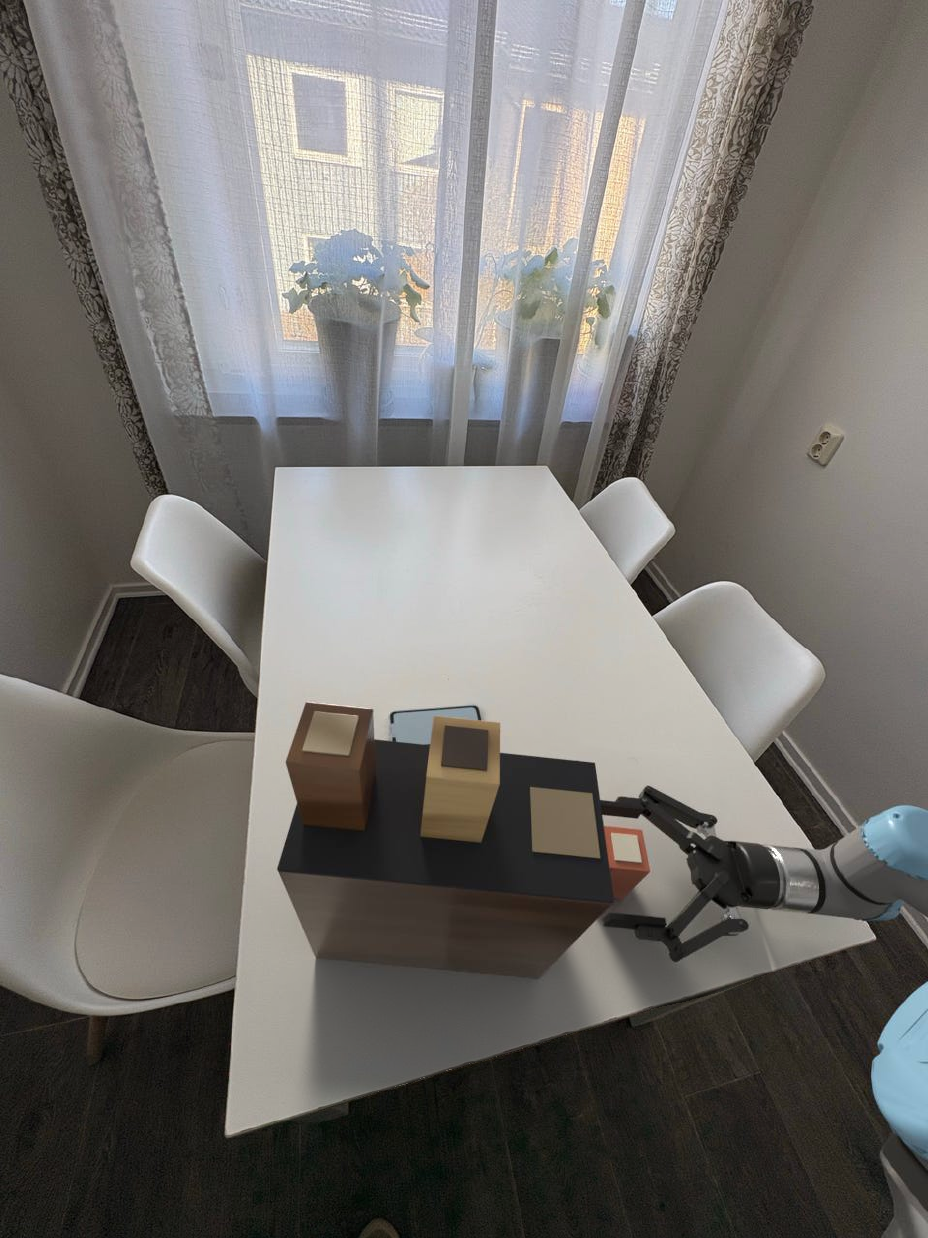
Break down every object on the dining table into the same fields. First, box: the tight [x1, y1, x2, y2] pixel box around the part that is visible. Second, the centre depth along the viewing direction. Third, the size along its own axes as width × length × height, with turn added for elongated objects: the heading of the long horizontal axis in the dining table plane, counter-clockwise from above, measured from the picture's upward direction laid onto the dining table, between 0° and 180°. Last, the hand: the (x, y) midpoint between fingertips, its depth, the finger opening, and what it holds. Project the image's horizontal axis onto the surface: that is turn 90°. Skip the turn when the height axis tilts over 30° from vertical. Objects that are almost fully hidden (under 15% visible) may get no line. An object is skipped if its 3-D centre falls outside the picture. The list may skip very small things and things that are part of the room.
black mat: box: [276, 738, 615, 905], centre depth 43 cm, size 12×26×1 cm, turn 87°
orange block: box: [604, 825, 651, 900], centre depth 65 cm, size 5×5×10 cm
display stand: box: [277, 870, 613, 980], centre depth 53 cm, size 12×26×28 cm, turn 87°
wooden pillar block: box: [420, 716, 501, 843], centre depth 40 cm, size 5×5×10 cm
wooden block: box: [285, 701, 376, 831], centre depth 39 cm, size 5×5×10 cm
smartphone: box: [388, 704, 484, 745], centre depth 81 cm, size 7×1×15 cm
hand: (598, 858), depth 64 cm, fingers open, 13 cm apart
